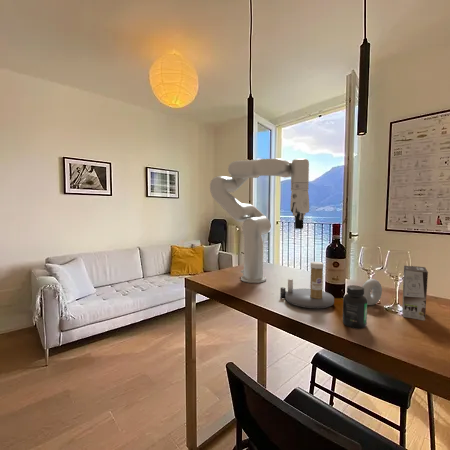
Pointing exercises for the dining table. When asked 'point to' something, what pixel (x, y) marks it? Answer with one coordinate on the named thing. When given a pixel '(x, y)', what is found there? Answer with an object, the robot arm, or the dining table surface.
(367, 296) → the donut
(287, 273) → the dining table surface
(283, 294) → the stop dowel
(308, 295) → the turntable
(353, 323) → the supplement bottle
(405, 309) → the coffee box
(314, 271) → the sprinkles bottle
